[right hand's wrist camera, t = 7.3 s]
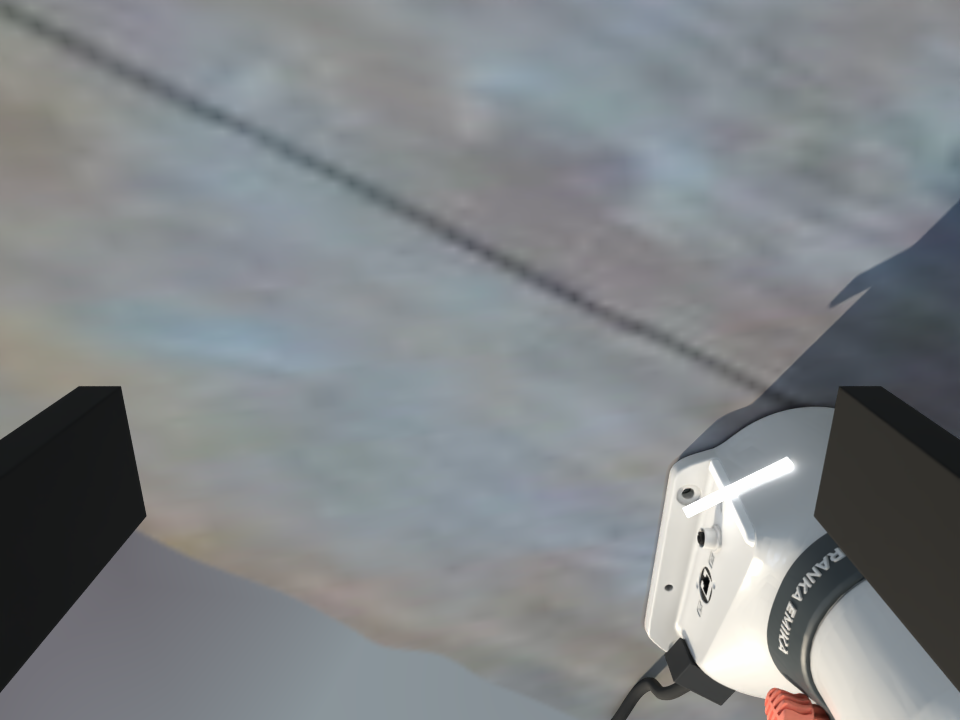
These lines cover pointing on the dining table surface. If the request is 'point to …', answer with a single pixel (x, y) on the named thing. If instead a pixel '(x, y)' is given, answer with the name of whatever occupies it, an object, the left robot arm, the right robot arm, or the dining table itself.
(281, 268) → the dining table surface
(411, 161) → the dining table surface
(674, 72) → the dining table surface
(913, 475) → the right robot arm
